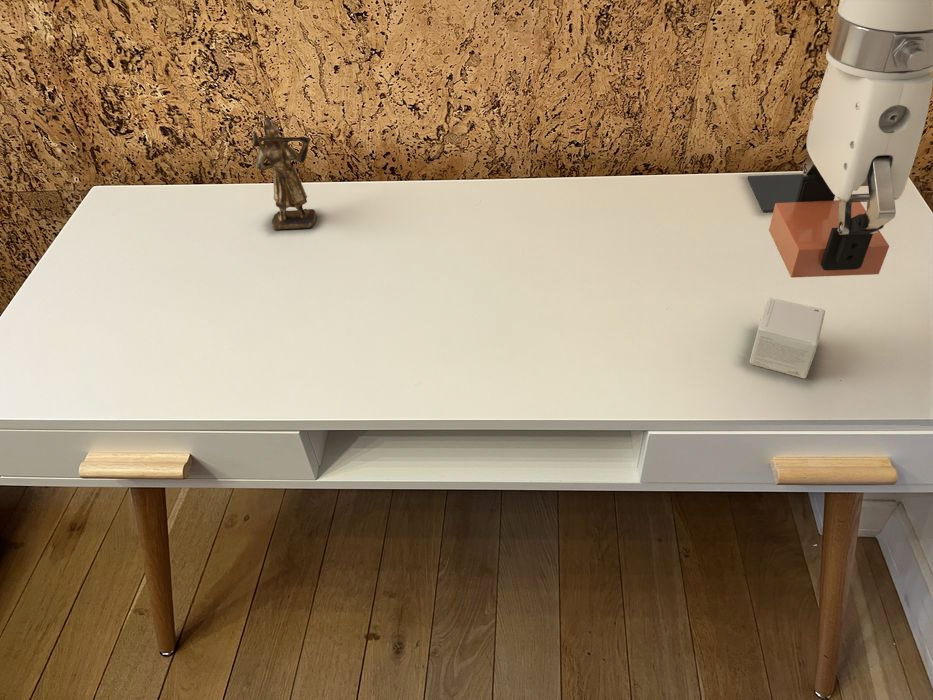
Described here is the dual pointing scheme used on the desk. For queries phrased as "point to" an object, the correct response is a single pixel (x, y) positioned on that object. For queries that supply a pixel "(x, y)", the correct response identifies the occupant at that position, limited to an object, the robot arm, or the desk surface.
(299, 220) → the figurine
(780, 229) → the orange flat block
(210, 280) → the desk surface
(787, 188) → the mat
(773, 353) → the small box
